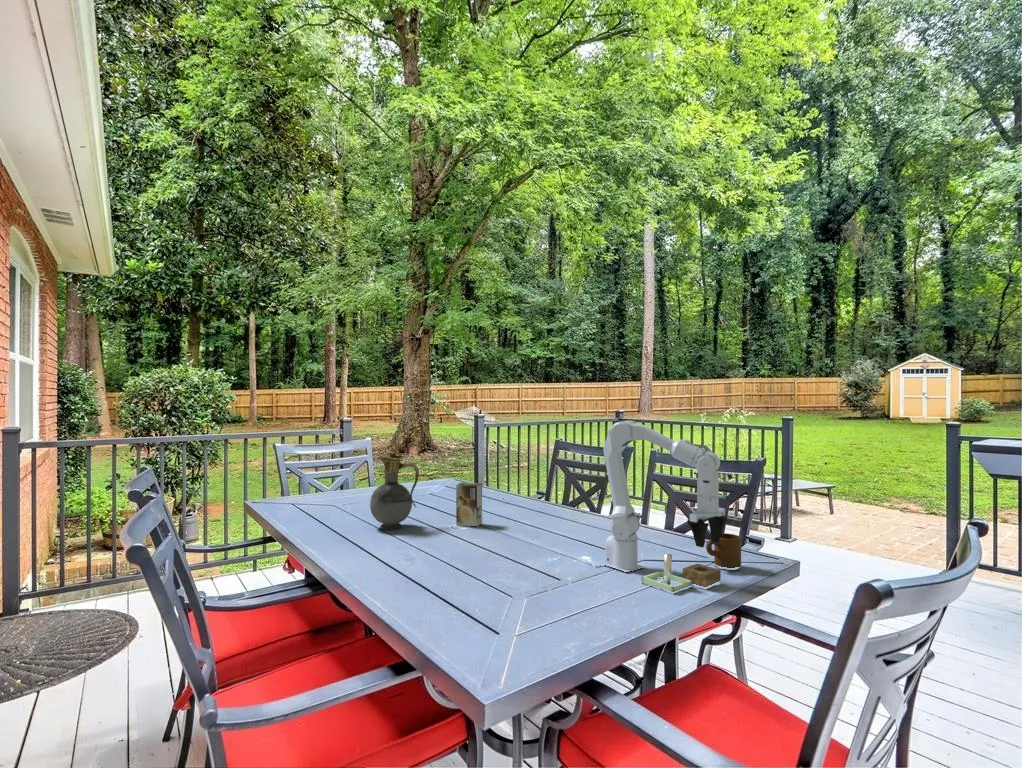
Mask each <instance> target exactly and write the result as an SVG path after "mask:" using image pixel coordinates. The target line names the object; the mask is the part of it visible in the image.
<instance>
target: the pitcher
mask: <svg viewBox="0 0 1022 768" xmlns="http://www.w3.org/2000/svg"><path fill="white" fill-rule="evenodd" d="M398 450H399V449H397V448H396V449H395V448H392V450H389V451H388V455H385V456H382V455H379V456H378V457H376V458H375V460H376V461H378V460H381V462H382V463H383V467H384V471H383V472H384V483H383V484H381V485H379V486H378V487H376V488H375V490H374V491H373V493H372V494H371V496H370V500H369V507H370V512H371V514H372V517H373V518H374V519H375V520H376V521H378V522H379V523H381V524H380V529H381V528H382V530H385V529H393V530H396V529H395V528H398V529H400V528H399V527H401V528H402V524H401V522H403V521H405V520H406V519H407V518H408V517H409V515H410V513H411V512H412V506H413V507H415V508H417V506H416V503H415V502H414V500H413V492H414V489H415V487H416V485H417V483H418V480H419V477H420V469H419V467H418V466H417V464H416V463H415V462H410V461H409V462H404V463H401V460H402V458H403V457H404V455H405V454H404V453H400V451H398ZM399 453H400V454H399ZM406 467H412V468H413V469H414V471H415V478H414V483H413V485H412V488H411V489H410V490H409V489H408V488H407V487H406V486H404V485H402V484H400V483H399V472H400V470H401V469H404V468H406Z"/></svg>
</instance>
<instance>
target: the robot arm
mask: <svg viewBox="0 0 1022 768" xmlns="http://www.w3.org/2000/svg"><path fill="white" fill-rule="evenodd" d="M634 441H646V442H648V443H650V444H653V445H656V446H658V447H660V448H663V449H665V450H666V451H667V450H668V451H669V452H670V454H671V457H672V458H674V459H675V460H677V461H680V462H682V463H684V464H686V465H688V466H690V467H692V468H694V467H695V469H696V471H697V479H696V481H697V482H696V485H697V487H696V488H697V489H696V510H695V511H693V512H692V513H689V519H687V524H688V526H689V527H690V528H689V529H690V530H691V532H692V536H693V539H694V543H695V546H696V547H699V548H705V544H706V534H707V530H708V527H709V533H710V534H709V535H710V539H711V541H712V542H717V543H719V541H720V537H721V534H722V533H723V530H724V528H725V526H726V523H727V522H728V517H726V508H724V507H719V502H720V500H719V499H720V496H719V495H720V494H719V489H720V488H719V487H720V483H719V482H720V481H719V468H720V465H721V460H720V457H719V456H718V455H717V454H716V453H715V452H713V451H709V450H707V449H706V448H704V447H698V446H696V445H694V444H692V443H691V441H690V440H688V439H679V440H673V439H672V438H670V437H668V436H666V435H664V434H662V433H660V432H658V431H656V430H655V429H652V428H651V427H649V426H647V425H644V424H642V423H639V422H636V421H634V420H632V419H631V420H630V419H628V420H625V421H617V422H615V423H614V424H612V426H611V427H610V428H609V429H608V431H607V436H606V440H605V442H604V445H603V455H604V461H605V467H606V468H605V469H606V473H607V479H608V484H609V490H610V494H611V495H610V497H611V501H612V505H613V509H612V512H611V525H610V531H611V535H608V537H607V538H606V539H605V543H604V563H603V565H602V566H604V565H606V566H605V567H607V566H610V567H613V568H616V569H619V570H622V571H624V572H623V573H625V572H629V573H631V572H630V571H632V572H635V571H634V570H636V571H638V570H637V569H639V570H641V569H640V568H642V567H644V566H643V565H640V564H639V563H638V556H639V555H638V551H639V549H638V548H639V547H638V546H639V545H638V542H639V541H638V540H639V539H638V538H639V537H638V535H637V532H638V531H639V529H640V527H641V522H640V519H639V517H638V516H637V515H636V511H635V508H634V507H633V506H632V504H631V499H630V498H631V497H630V494H629V487H628V482H627V477H626V471H625V466H624V462H623V455H622V453H623V451H624V450H625V449H626V447H627V446H628V445H629V444H630V443H632V442H634ZM706 450H707V451H706ZM704 520H707V522H708V523H707V522H704ZM610 567H609V568H610ZM613 568H612V569H613ZM644 568H645V567H644ZM616 569H615V570H616ZM642 569H643V568H642ZM619 570H618V571H619ZM622 571H621V572H622Z"/></svg>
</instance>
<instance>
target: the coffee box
mask: <svg viewBox="0 0 1022 768" xmlns="http://www.w3.org/2000/svg"><path fill="white" fill-rule="evenodd" d="M455 493H456V495H455V496H456V497H455V501H456V504H455V505H456V508H455V509H456V510H455V512H456V513H455V514H456V515H455V516H456V520H455V521H456V526H457V525H458V526H459V527H471V526H478V527H480V526H481V525H482V524H483V484H482V483H479V482H459V483H457V484H456V485H455ZM481 523H482V524H481ZM480 524H481V525H480ZM479 525H480V526H479Z"/></svg>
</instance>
